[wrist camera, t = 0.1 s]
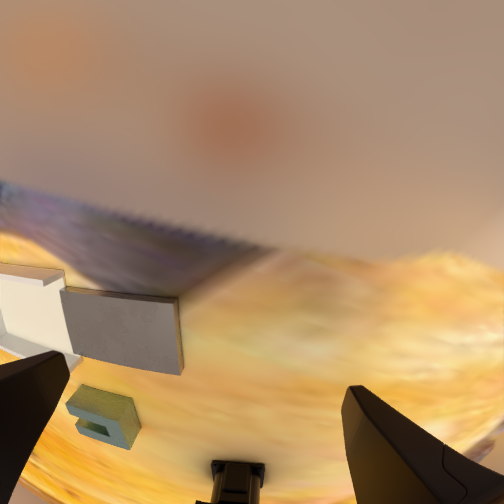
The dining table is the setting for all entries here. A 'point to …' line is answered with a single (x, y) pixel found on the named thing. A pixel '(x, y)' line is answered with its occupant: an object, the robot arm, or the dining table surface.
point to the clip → (105, 416)
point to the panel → (124, 328)
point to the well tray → (33, 313)
